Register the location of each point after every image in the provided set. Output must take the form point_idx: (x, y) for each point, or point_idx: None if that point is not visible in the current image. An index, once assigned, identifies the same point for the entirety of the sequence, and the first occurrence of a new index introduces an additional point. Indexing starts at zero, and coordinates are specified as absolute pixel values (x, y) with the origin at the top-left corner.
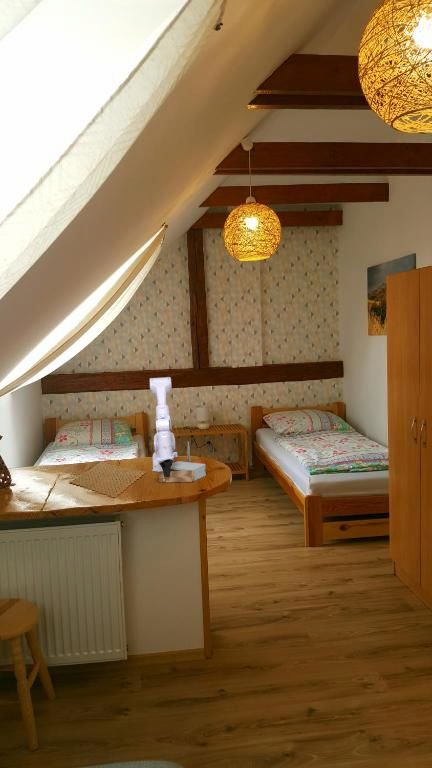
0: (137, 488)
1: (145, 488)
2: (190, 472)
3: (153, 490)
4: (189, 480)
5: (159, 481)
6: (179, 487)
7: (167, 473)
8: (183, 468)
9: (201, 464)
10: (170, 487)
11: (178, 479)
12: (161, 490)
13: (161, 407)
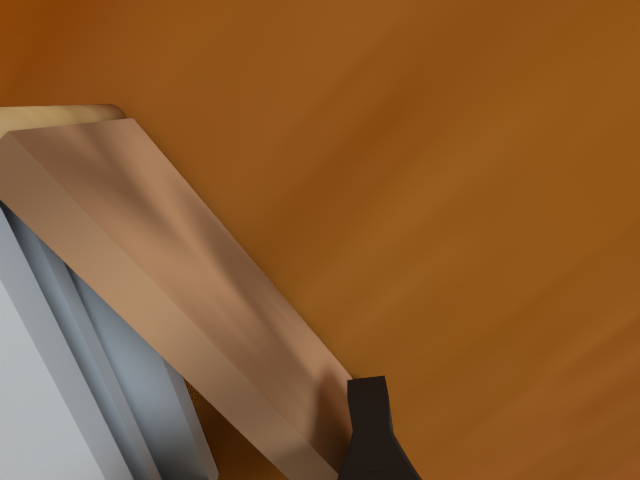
0: (615, 470)
1: (590, 415)
2: (51, 151)
3: (626, 309)
4: (152, 153)
5: None
6: (398, 114)
7: (391, 427)
8: (33, 391)
9: None
10: (452, 219)
11: (251, 281)
12: (597, 231)
13: None
